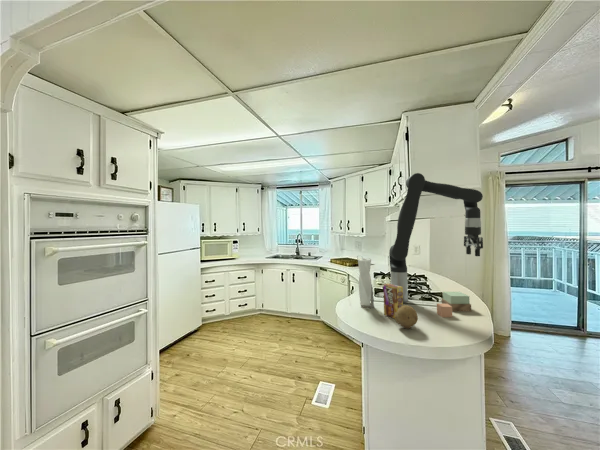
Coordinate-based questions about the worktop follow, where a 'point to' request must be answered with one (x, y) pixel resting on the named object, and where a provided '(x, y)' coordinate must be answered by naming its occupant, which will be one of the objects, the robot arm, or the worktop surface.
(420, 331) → the worktop surface
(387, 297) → the candy box
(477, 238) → the robot arm
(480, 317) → the worktop surface
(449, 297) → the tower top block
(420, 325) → the worktop surface
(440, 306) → the terracotta block
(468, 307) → the tower base block
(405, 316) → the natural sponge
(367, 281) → the skyscraper
